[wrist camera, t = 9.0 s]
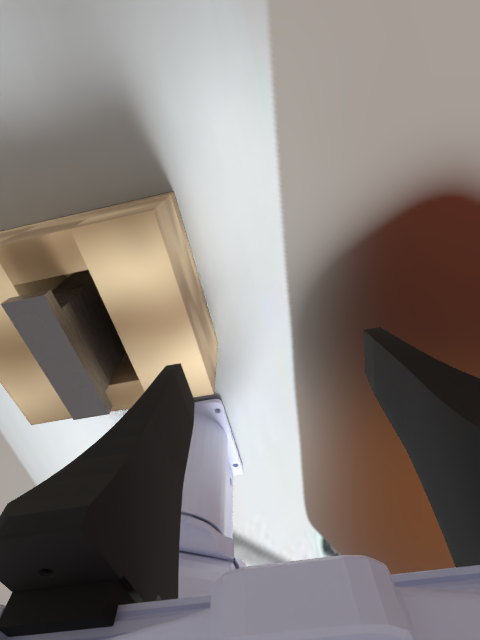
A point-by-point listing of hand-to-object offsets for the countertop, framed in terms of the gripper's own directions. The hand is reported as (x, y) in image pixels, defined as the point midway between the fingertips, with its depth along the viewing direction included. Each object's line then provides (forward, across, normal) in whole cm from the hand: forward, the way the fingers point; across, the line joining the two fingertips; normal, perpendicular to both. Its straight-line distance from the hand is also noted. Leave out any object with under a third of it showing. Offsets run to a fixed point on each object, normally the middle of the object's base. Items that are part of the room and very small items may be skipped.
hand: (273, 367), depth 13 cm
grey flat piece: (+9, +10, 0) cm, 14 cm away
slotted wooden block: (+10, +10, 0) cm, 14 cm away
